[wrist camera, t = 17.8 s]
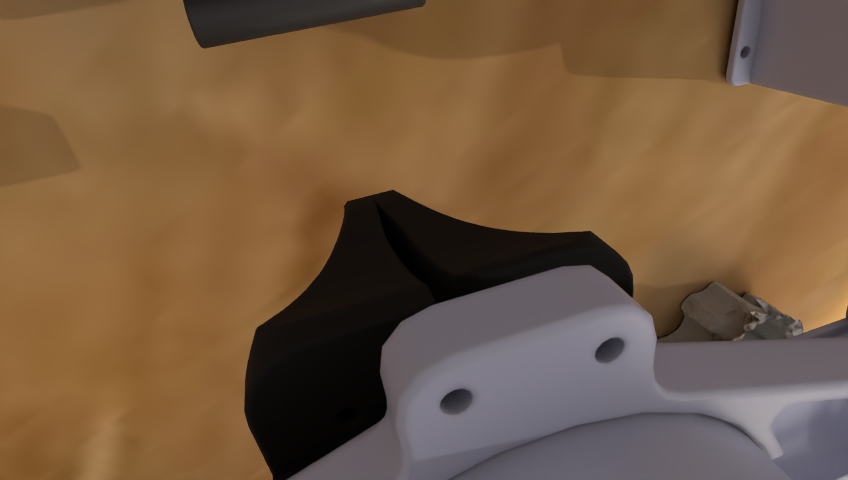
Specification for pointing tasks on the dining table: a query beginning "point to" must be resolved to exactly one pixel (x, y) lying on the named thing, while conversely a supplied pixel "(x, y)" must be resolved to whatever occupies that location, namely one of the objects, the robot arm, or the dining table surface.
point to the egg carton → (730, 318)
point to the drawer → (277, 16)
